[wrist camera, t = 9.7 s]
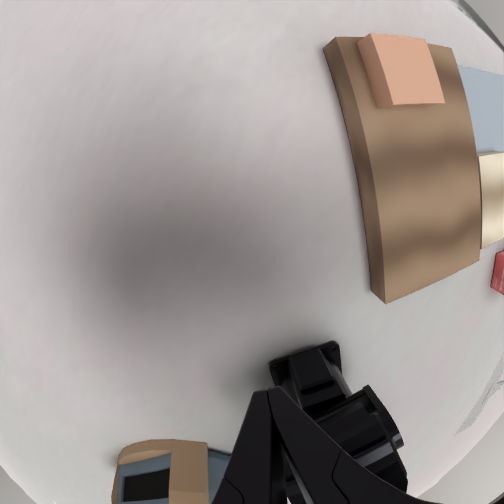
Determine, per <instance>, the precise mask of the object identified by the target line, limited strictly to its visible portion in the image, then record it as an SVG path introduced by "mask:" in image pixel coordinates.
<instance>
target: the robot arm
mask: <svg viewBox="0 0 504 504" xmlns="http://www.w3.org/2000/svg"><path fill="white" fill-rule="evenodd" d="M334 346H335V347H334ZM332 347H334V348H332ZM274 365H276V366H275V367H273V366H274ZM269 369H270V372H271V375H272V378H273V381H274V384H275V387H271V388H268V389H267V390H265V389H263V390H259V391H255V392H254V393H253V395H252V398H251V401H250V403H249V406H248V409H247V412H246V415H245V418H244V421H243V424H242V426H241V429H240V432H239V435H238V438H237V440H236V443H235V446H234V448H233V451H232V454H231V457H230V459H229V462H228V465H227V467H226V470H225V472H224V475H223V477H224V478H222V480H221V482H220V485H219V487H218V490H217V492H216V494H215V496H214V499H213V501H212V503H211V504H287V497H288V499H289V501H290V502H291V504H441V503H434V502H429V501H424V500H420V499H418V498H415V497H413V496H410V495H408V494H406V491H407V485H408V480H407V478H406V477H407V472H406V470H405V467H404V465H403V463H402V461H401V459H400V457H399V454H398V452H397V449H399V448H400V447H402V446H404V443H403V440H402V437H401V435H400V432H399V430H398V428H397V426H396V424H395V422H394V421H393V419H392V417H391V415H390V414H389V412H388V411H387V409H386V408H385V406H384V405H383V404H382V402H381V401H380V400H379V398H378V397H377V396H376V394H375V393H374V391H373V390H372V389H371V387H370V386H369V385H367V386H365V387H363V389H362V390H360V391H358V392H356V393H354V394H352V392H351V391H350V389H349V387H348V385H347V383H346V381H345V380H344V378H343V376H342V368H341V358H340V348H339V345H338V343H337V342H331V343H328V344H325V345H322V346H319V347H316V348H313V349H310V350H307V351H304V352H301V353H297V354H294V355H291V356H288V357H284V358H281V359H278V360H274V361H271V362H270V363H269ZM489 504H504V493H502V494H501V495H500V496H499V497H497V498H496V499H494V500H493V501H492V502H490V503H489Z"/></svg>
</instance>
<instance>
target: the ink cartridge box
mask: <svg viewBox="0 0 504 504" xmlns="http://www.w3.org/2000/svg"><path fill="white" fill-rule="evenodd" d="M491 287H492V288H493V289H495V290H496V291H498V292H500V293H501V294H503V295H504V251H501V252H499V253H497V255H496V261H495V268H494V273H493V279H492V283H491Z"/></svg>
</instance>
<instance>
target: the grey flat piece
mask: <svg viewBox="0 0 504 504" xmlns="http://www.w3.org/2000/svg"><path fill="white" fill-rule="evenodd" d="M503 370H504V352H503V355H502V357H501V359H500V361H499V363H498V365H497V367H496V369H495V371H494V373H493V375H492V377H491V378H490V380H489V382H488V384H487V386H486V387H485V389H484V391H483V393H482V394H481V396H480V398H479V399H478V401H477V403H476V404H475V406H474V407H473V409H472V411H471V412H470V414H469V415H468V417H467V418H466V420H465V421H464V422H463V424H462V425H461V427H460V428H459V430H458V431H457V432H456V434H458V433H460V432H461V431H463V430H465V429H466V428H468V427H469V426H471V425H472V424H473V423H474V422H475V420H476V419H477V417H478V415H479V414H480V412H481V411H482V409H483V407H484V406H485V404H486V402H487V401H488V399H489V398H490V397H491V396H492V395H493V394H494V393H495V392H496V391H497V390H499V389H500V388H501V386H502V385H503V384H504V381H500V382H498V380H499V378H500V376H501V374H502V372H503ZM497 382H498V383H497ZM456 434H455V435H456ZM455 435H454V436H455Z"/></svg>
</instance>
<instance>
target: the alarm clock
mask: <svg viewBox="0 0 504 504" xmlns="http://www.w3.org/2000/svg"><path fill="white" fill-rule="evenodd" d="M230 457H231V456H228V455H224V454H220V453H217V452H213V451H208V450H207V443H205V442H194V441H183V440H174V439H169V440H149V441H144V442H139V443H135V444H133V445H130V446H128V447H125V448H124V449H123V451H122V452H121V454H120V456H119V460H118V465H117V470H116V474H115V479H114V484H113V490H112V495H111V499H112V504H211V503H212V501H213V499H214V496H215V494H216V492H217V490H218V487H219V485H220V482H221V480H222V478H224V477H223V475H224V472H225V470H226V467H227V465H228V462H229V459H230Z"/></svg>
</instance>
